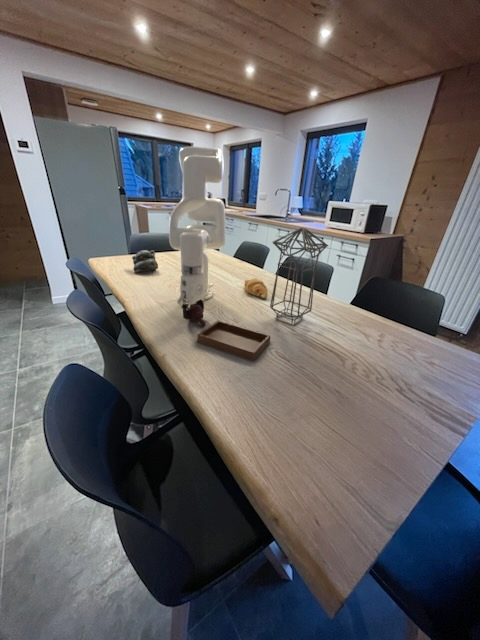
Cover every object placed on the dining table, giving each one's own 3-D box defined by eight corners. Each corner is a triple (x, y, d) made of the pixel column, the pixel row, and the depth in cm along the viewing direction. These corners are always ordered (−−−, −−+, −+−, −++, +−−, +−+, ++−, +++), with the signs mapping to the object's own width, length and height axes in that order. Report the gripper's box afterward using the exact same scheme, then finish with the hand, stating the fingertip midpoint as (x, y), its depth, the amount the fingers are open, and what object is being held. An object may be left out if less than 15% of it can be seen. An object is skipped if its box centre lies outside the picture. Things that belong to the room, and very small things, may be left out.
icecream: (174, 300, 101) (192, 318, 91) (191, 292, 104) (210, 309, 94) (178, 314, 105) (196, 333, 95) (194, 307, 108) (213, 324, 98)
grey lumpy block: (129, 273, 150) (124, 249, 150) (140, 276, 162) (135, 254, 162) (154, 267, 148) (148, 243, 148) (163, 270, 160) (158, 248, 160)
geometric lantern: (262, 318, 105) (270, 226, 90) (284, 308, 116) (295, 224, 101) (295, 332, 96) (312, 232, 81) (316, 319, 107) (334, 229, 91)
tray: (217, 326, 97) (218, 320, 96) (269, 342, 88) (270, 335, 87) (197, 341, 87) (197, 334, 86) (253, 361, 78) (254, 353, 77)
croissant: (270, 305, 127) (278, 291, 125) (254, 298, 121) (263, 283, 119) (249, 290, 143) (256, 277, 142) (235, 283, 137) (242, 270, 136)
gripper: (185, 276, 84) (187, 326, 92) (215, 266, 98) (214, 309, 105) (166, 272, 87) (170, 321, 95) (198, 262, 101) (199, 305, 109)
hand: (193, 314), depth 100 cm, fingers closed on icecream, 7 cm apart
